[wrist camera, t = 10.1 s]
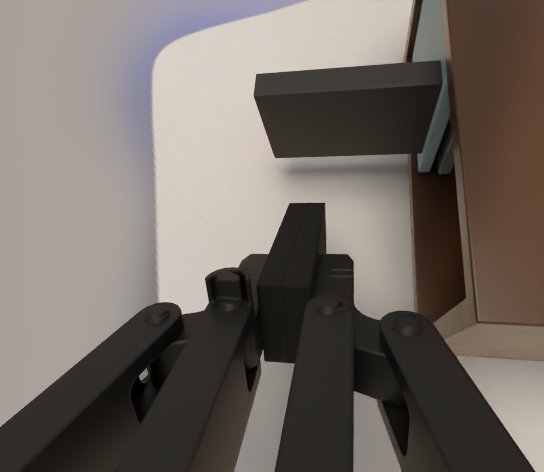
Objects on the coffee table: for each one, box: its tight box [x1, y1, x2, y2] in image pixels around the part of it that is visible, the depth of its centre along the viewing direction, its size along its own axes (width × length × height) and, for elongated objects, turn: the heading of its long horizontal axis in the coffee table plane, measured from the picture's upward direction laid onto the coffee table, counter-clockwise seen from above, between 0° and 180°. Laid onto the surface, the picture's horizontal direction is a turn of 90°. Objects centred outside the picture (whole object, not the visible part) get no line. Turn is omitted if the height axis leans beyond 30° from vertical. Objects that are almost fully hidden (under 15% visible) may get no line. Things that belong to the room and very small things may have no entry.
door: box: [254, 0, 450, 172], centre depth 19 cm, size 8×8×8 cm
